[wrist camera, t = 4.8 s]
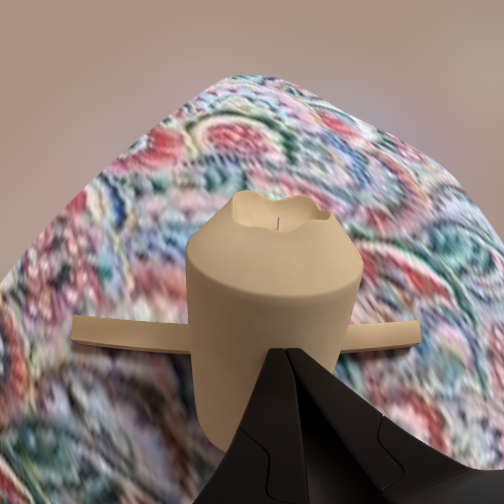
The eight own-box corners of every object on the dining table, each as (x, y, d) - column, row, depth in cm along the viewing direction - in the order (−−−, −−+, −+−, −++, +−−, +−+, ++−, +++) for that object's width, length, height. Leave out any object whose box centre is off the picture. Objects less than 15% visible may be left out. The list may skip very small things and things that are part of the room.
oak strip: (411, 346, 17) (422, 342, 16) (78, 343, 15) (70, 339, 14) (408, 325, 18) (418, 320, 17) (81, 320, 16) (73, 314, 15)
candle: (173, 411, 13) (146, 198, 9) (249, 357, 17) (264, 175, 13) (264, 484, 10) (315, 263, 6) (334, 407, 14) (395, 210, 9)
